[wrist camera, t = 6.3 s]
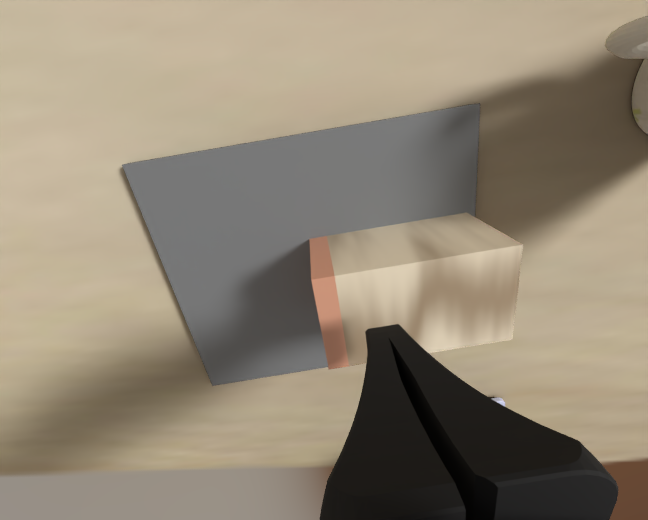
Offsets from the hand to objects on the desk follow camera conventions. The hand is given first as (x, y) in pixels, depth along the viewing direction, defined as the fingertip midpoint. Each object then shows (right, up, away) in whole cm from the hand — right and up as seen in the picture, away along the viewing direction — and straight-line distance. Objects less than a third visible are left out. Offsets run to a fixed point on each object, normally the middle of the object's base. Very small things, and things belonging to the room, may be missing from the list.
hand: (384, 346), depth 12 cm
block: (-3, +1, +4) cm, 5 cm away
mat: (-3, +3, +7) cm, 8 cm away
